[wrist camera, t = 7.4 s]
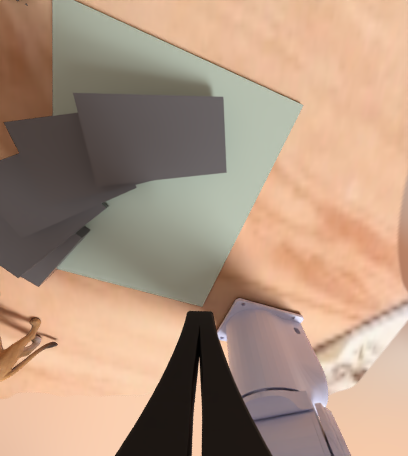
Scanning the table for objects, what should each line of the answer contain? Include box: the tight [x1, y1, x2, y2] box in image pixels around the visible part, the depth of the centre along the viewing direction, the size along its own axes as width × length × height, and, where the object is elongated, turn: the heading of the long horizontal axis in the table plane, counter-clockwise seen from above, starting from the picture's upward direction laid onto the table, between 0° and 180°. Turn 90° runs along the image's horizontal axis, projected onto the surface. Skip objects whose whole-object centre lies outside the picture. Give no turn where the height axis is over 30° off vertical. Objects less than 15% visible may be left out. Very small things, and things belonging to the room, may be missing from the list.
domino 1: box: [4, 113, 154, 206], centre depth 14 cm, size 2×5×9 cm
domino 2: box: [0, 153, 137, 239], centre depth 15 cm, size 2×5×9 cm
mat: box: [52, 0, 303, 307], centre depth 18 cm, size 18×23×1 cm
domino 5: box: [73, 93, 227, 186], centre depth 13 cm, size 2×5×9 cm
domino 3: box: [0, 202, 109, 278], centre depth 16 cm, size 2×5×9 cm
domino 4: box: [21, 226, 91, 287], centre depth 19 cm, size 2×5×9 cm
